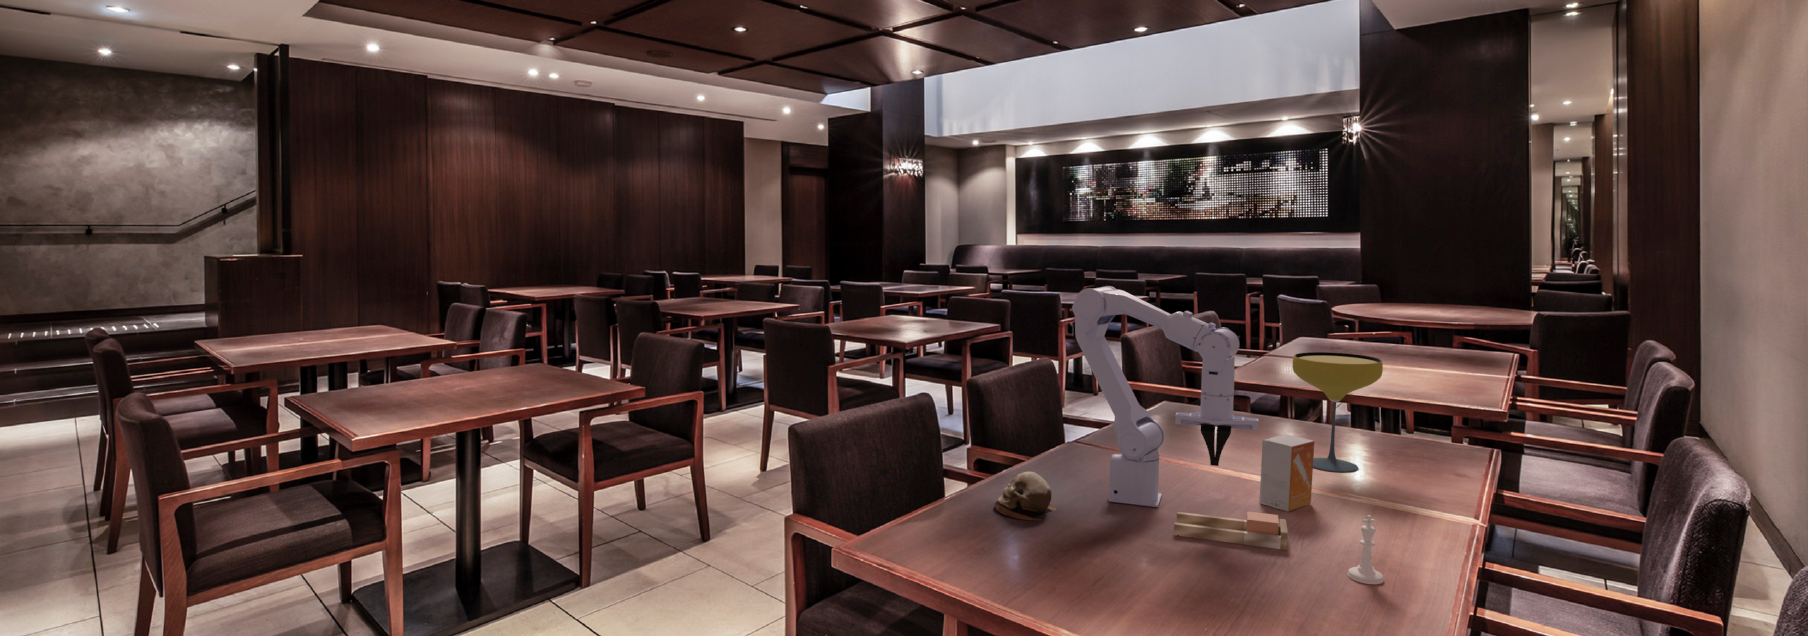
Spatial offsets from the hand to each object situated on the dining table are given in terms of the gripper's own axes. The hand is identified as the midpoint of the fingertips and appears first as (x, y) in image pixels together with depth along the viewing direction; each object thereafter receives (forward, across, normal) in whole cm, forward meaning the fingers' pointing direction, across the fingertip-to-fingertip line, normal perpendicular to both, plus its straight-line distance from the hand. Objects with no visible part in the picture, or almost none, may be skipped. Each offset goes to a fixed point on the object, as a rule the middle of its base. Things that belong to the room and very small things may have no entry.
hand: (1214, 464), depth 154 cm
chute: (+10, +2, -10) cm, 14 cm away
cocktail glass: (+10, +24, +45) cm, 52 cm away
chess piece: (+10, +23, -21) cm, 33 cm away
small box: (+10, +13, +12) cm, 20 cm away
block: (+10, +8, -10) cm, 16 cm away
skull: (+10, -34, -10) cm, 37 cm away
